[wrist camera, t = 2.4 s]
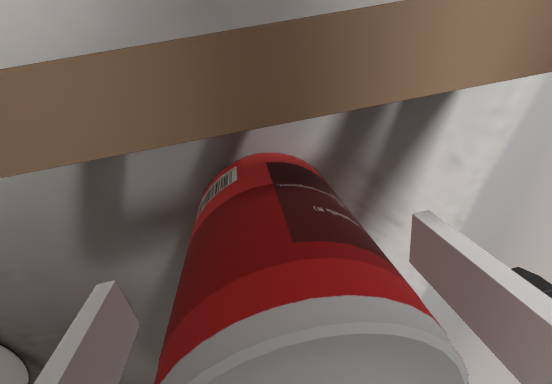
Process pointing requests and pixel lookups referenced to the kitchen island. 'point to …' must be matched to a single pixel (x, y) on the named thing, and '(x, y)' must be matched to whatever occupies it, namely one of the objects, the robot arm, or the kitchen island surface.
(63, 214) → the kitchen island surface
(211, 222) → the canned food
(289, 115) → the gate
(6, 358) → the bottle
